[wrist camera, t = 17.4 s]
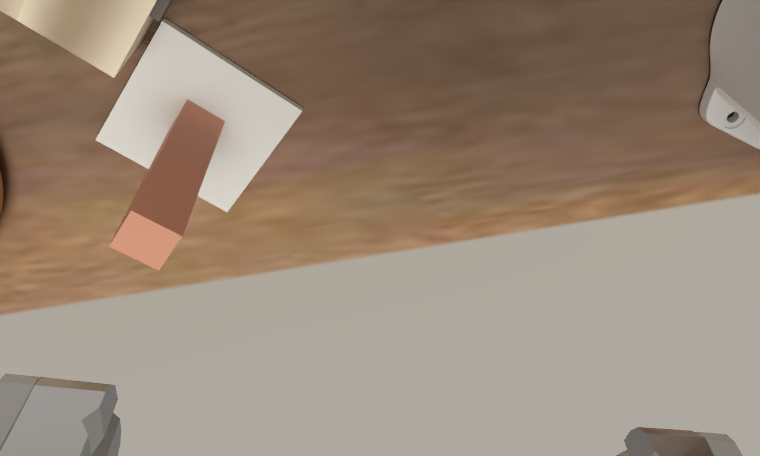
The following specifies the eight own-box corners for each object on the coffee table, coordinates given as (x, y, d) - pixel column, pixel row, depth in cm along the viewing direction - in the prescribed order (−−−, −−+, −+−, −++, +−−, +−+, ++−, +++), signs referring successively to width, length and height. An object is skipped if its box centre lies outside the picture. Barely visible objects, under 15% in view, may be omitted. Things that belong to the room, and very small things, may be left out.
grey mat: (303, 107, 47) (302, 111, 47) (228, 208, 52) (227, 212, 52) (164, 17, 43) (162, 20, 43) (98, 136, 48) (95, 139, 48)
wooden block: (225, 121, 47) (182, 236, 36) (205, 150, 48) (158, 270, 37) (187, 99, 46) (131, 210, 35) (168, 129, 47) (108, 246, 36)
